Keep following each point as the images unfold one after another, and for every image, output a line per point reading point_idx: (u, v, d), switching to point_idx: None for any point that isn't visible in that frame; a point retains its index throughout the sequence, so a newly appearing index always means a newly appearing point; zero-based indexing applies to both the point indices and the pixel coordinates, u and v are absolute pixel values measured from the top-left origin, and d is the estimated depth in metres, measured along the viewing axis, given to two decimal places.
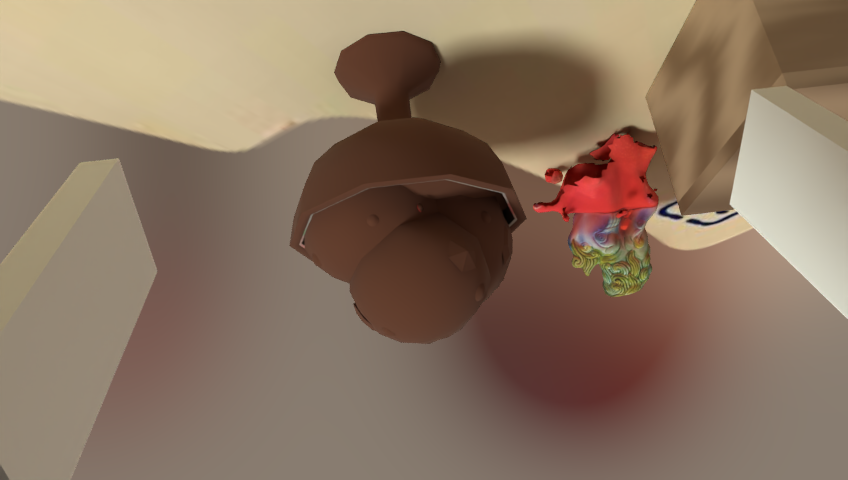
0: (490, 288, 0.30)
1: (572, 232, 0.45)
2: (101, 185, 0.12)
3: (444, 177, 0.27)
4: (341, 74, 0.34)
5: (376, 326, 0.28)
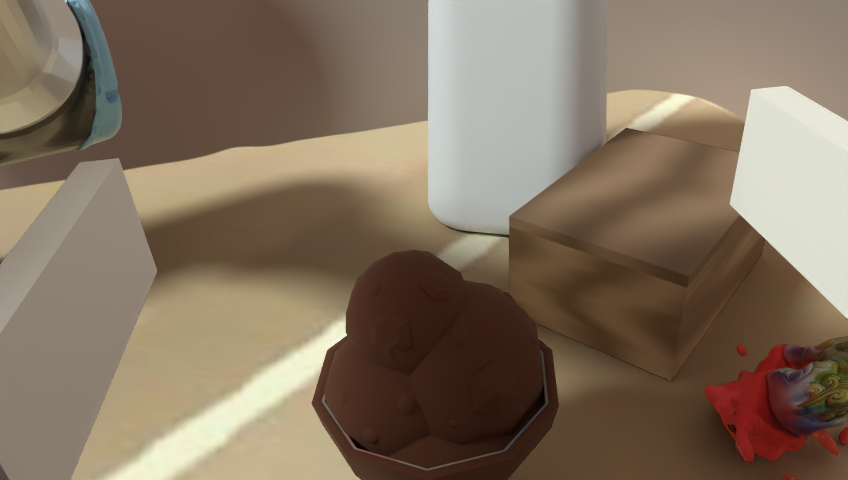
0: None
1: (792, 411, 0.32)
2: (101, 185, 0.12)
3: None
4: None
5: (370, 302, 0.27)
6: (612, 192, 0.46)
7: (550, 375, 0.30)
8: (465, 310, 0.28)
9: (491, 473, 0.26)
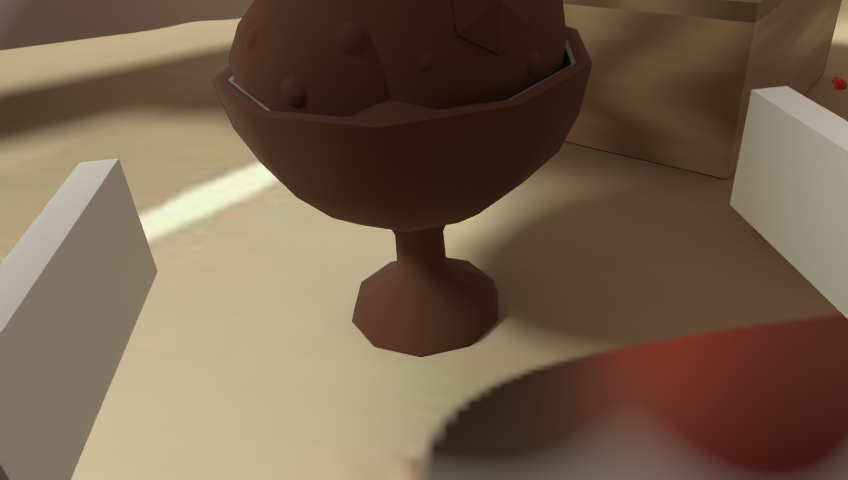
0: None
1: None
2: (101, 185, 0.12)
3: None
4: (369, 322, 0.23)
5: None
6: None
7: (576, 42, 0.19)
8: None
9: (487, 136, 0.16)
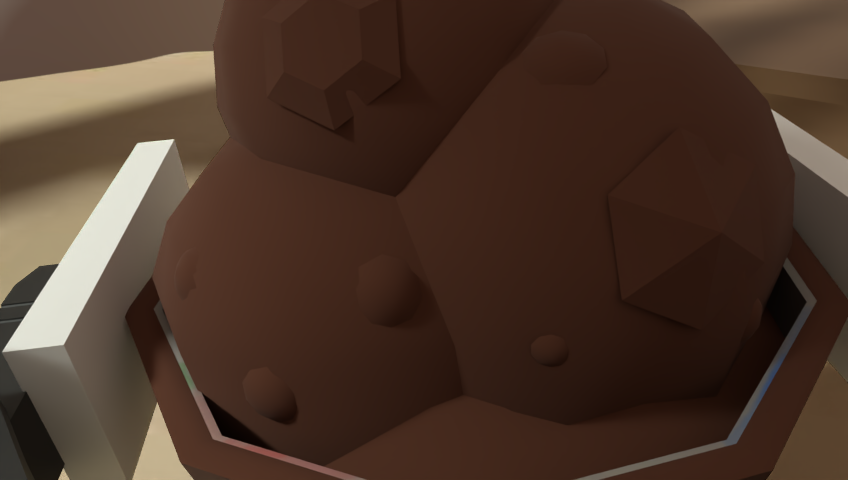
0: None
1: None
2: (162, 163, 0.13)
3: None
4: None
5: None
6: (749, 12, 0.27)
7: None
8: None
9: None
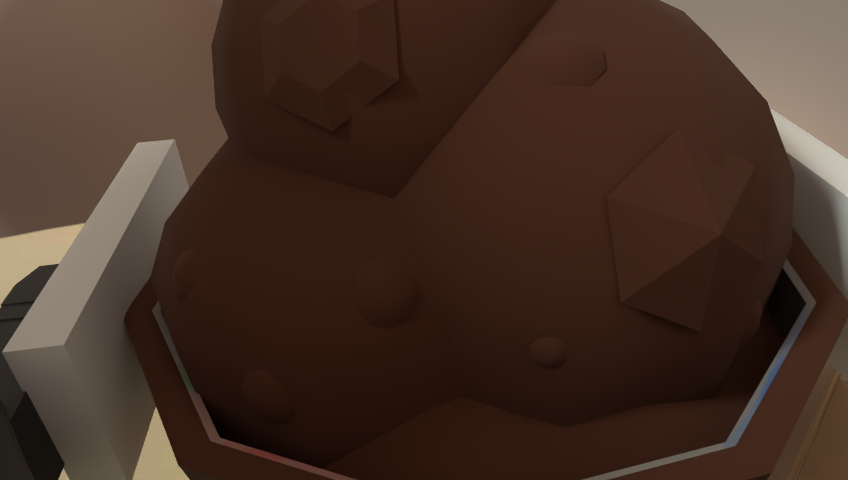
0: None
1: None
2: (162, 163, 0.13)
3: None
4: None
5: None
6: None
7: None
8: (572, 0, 0.09)
9: None
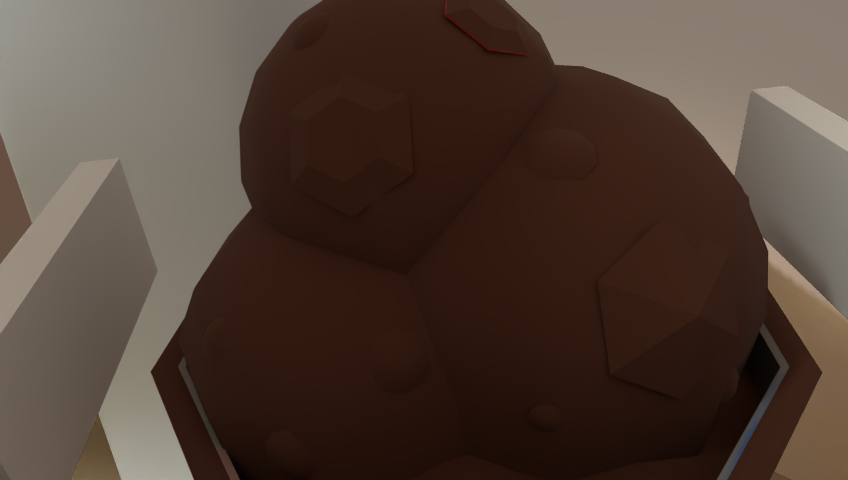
0: None
1: None
2: (101, 185, 0.12)
3: None
4: None
5: (295, 63, 0.09)
6: None
7: (766, 301, 0.12)
8: (567, 94, 0.10)
9: None
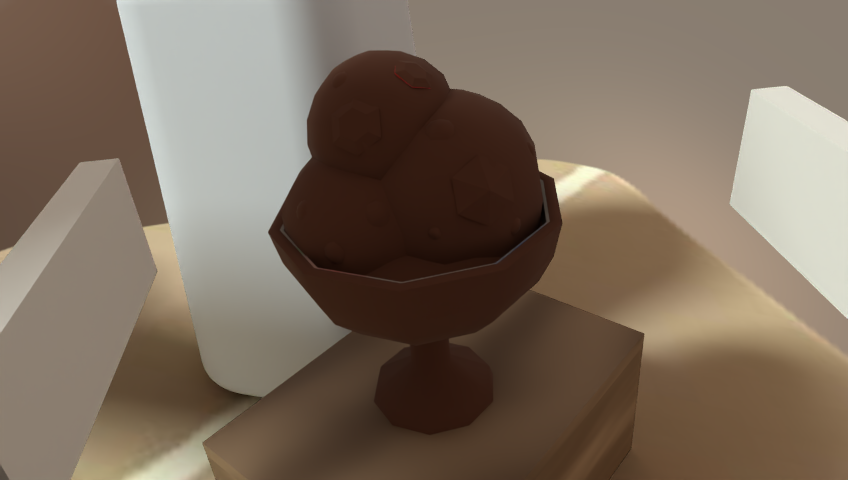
0: None
1: None
2: (101, 185, 0.12)
3: None
4: (388, 405, 0.29)
5: (333, 93, 0.23)
6: None
7: (552, 197, 0.25)
8: (447, 104, 0.23)
9: (480, 291, 0.22)
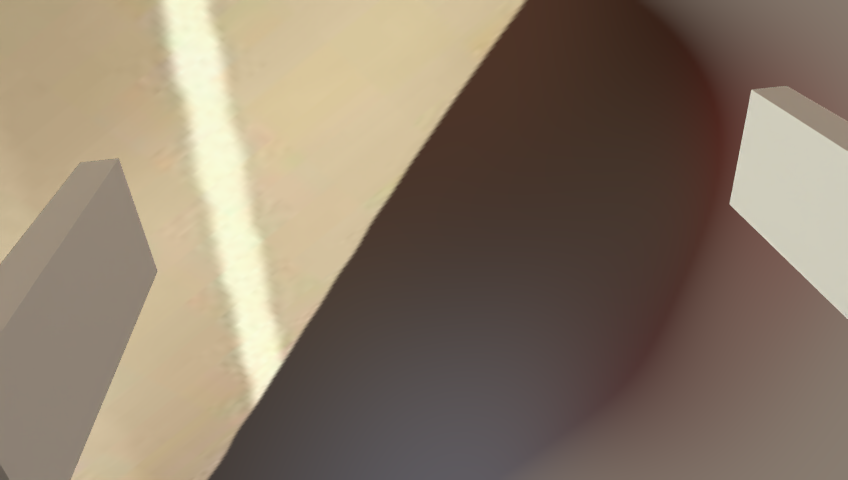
0: None
1: None
2: (101, 185, 0.12)
3: None
4: None
5: None
6: None
7: None
8: None
9: None
